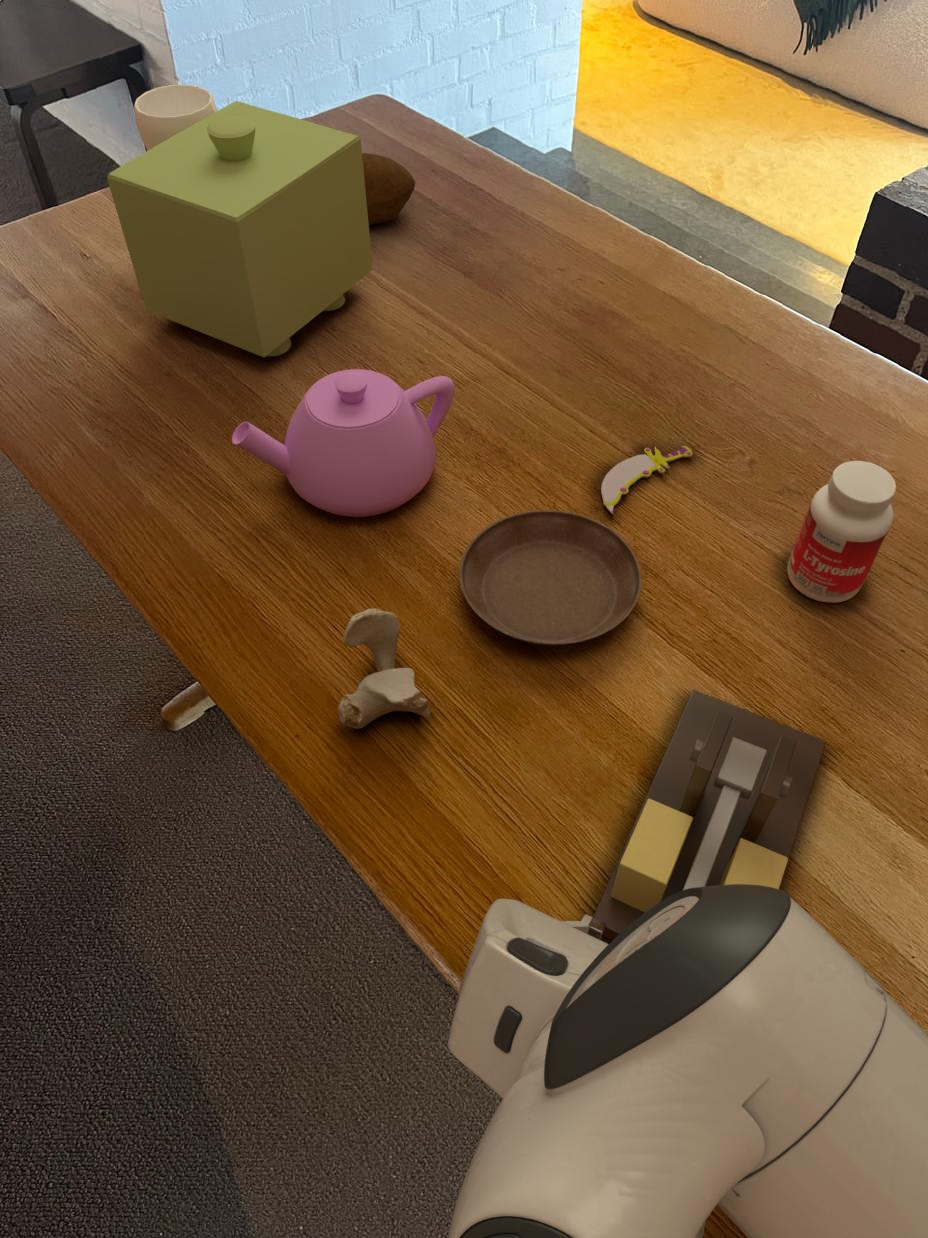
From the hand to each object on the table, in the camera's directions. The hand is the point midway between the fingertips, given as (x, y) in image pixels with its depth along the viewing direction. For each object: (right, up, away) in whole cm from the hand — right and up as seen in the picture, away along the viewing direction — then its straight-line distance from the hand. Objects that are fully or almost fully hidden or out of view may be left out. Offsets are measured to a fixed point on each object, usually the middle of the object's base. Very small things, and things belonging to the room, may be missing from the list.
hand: (665, 964), depth 58 cm
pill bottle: (+18, +24, +23) cm, 38 cm away
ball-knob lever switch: (+2, +6, +1) cm, 6 cm away
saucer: (-5, +23, +22) cm, 32 cm away
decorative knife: (+4, +34, +31) cm, 46 cm away
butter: (+2, +3, +4) cm, 5 cm away
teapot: (-22, +34, +31) cm, 51 cm away
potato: (-24, +70, +61) cm, 96 cm away
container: (-34, +55, +49) cm, 81 cm away
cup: (-43, +67, +58) cm, 99 cm away
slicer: (+5, +6, +8) cm, 11 cm away
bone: (-18, +14, +15) cm, 27 cm away
